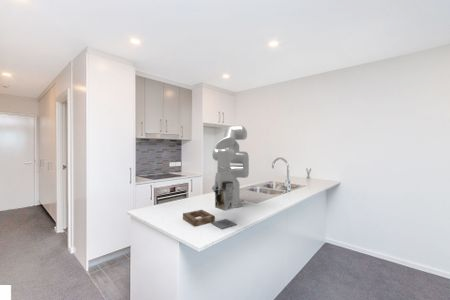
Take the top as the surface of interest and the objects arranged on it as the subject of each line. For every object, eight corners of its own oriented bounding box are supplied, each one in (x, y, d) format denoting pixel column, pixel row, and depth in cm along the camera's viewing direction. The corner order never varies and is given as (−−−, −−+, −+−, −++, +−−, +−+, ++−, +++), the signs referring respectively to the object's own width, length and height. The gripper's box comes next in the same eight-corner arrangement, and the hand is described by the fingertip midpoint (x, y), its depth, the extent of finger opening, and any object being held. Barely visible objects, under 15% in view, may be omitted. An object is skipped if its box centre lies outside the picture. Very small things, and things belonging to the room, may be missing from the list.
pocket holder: (202, 214, 142) (202, 209, 142) (214, 221, 129) (214, 215, 129) (182, 218, 134) (182, 213, 134) (194, 226, 121) (194, 220, 121)
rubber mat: (225, 219, 132) (225, 218, 132) (236, 225, 123) (236, 224, 123) (211, 223, 126) (211, 222, 126) (221, 229, 117) (221, 228, 117)
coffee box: (214, 207, 125) (214, 180, 125) (222, 205, 130) (222, 179, 129) (225, 211, 119) (225, 182, 118) (233, 208, 123) (233, 181, 123)
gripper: (231, 168, 132) (231, 196, 132) (207, 170, 122) (208, 200, 122) (239, 169, 126) (239, 199, 126) (214, 171, 116) (214, 203, 116)
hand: (223, 199), depth 124 cm, fingers closed on coffee box, 7 cm apart
